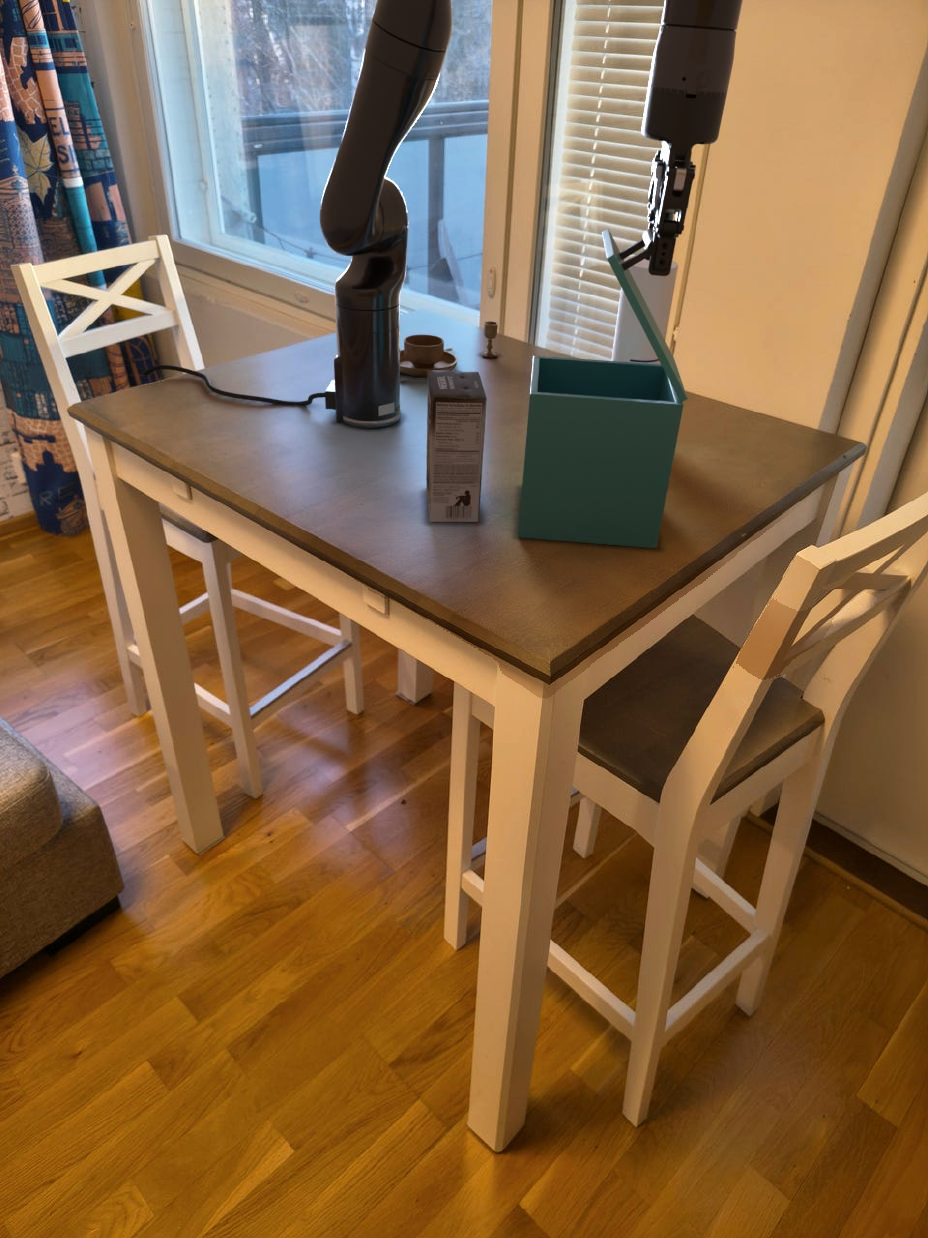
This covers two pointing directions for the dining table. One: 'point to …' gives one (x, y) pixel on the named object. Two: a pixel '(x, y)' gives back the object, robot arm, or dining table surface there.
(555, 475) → the teal open box
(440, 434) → the coffee box
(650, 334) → the cool box lid
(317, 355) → the dining table surface
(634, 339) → the cylindrical container
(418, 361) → the place setting
